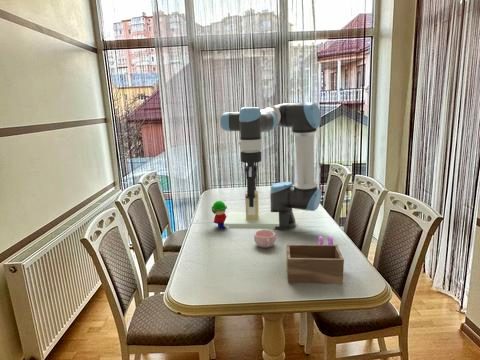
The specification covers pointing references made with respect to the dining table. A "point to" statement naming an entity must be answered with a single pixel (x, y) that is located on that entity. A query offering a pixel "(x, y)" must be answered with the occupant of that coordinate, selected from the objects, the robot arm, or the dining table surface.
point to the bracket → (320, 240)
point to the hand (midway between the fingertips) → (252, 212)
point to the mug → (264, 238)
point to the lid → (252, 218)
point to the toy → (219, 213)
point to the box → (314, 264)
